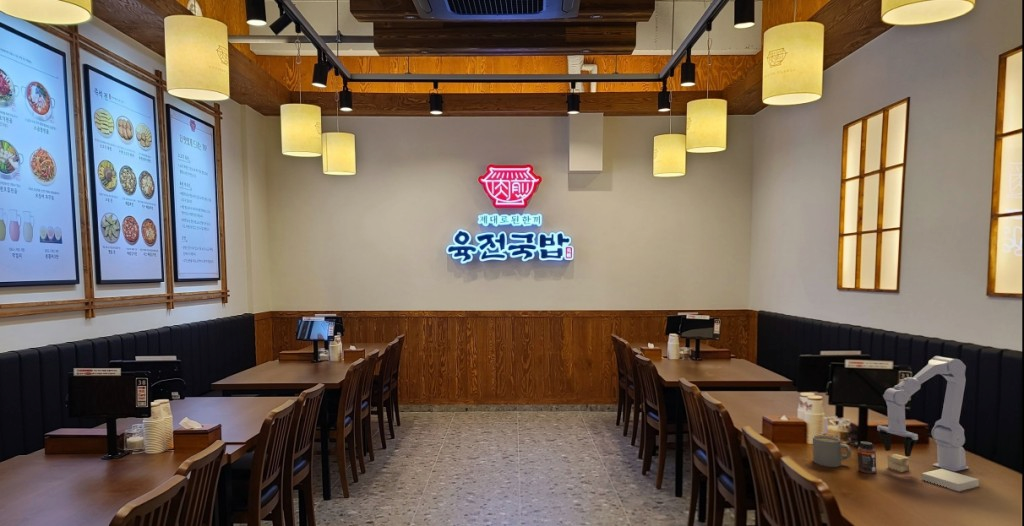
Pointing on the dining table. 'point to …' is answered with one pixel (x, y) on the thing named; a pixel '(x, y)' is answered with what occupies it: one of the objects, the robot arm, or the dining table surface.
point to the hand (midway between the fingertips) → (897, 453)
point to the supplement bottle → (866, 458)
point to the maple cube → (898, 462)
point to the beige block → (950, 479)
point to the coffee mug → (829, 451)
